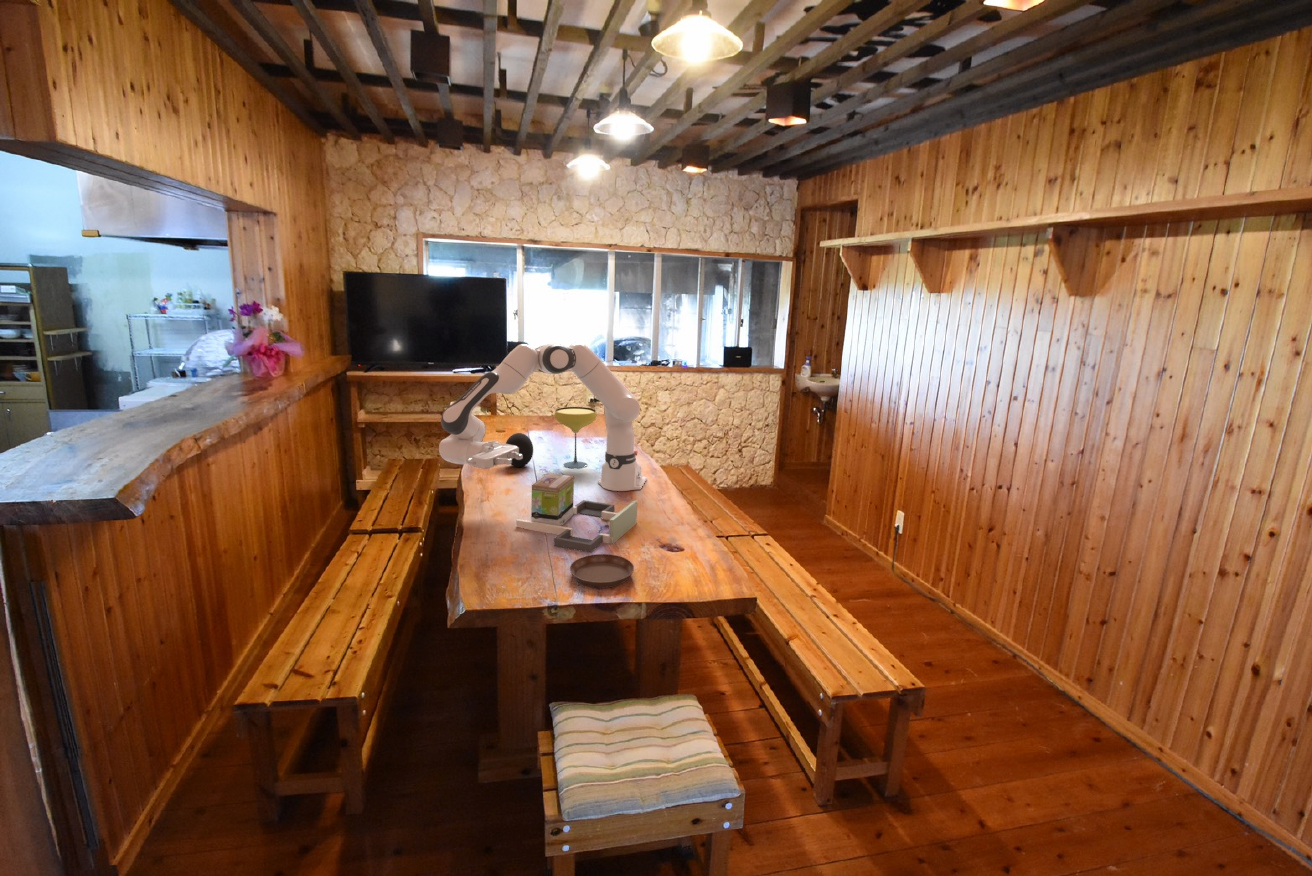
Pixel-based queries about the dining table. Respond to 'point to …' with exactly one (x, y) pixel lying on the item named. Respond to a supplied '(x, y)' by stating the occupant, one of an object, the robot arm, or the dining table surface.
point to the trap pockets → (582, 543)
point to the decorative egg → (521, 448)
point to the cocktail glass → (575, 425)
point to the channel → (617, 520)
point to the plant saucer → (602, 570)
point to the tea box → (552, 499)
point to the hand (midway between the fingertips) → (516, 459)
